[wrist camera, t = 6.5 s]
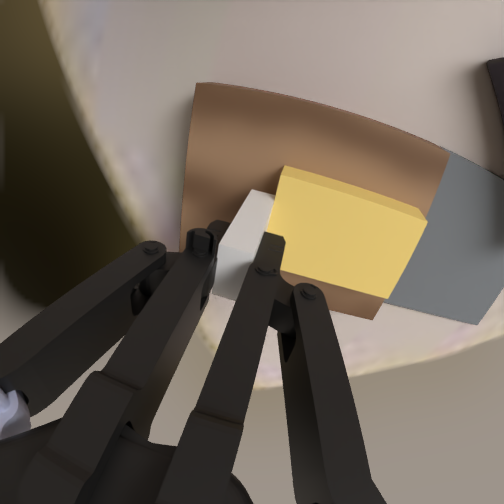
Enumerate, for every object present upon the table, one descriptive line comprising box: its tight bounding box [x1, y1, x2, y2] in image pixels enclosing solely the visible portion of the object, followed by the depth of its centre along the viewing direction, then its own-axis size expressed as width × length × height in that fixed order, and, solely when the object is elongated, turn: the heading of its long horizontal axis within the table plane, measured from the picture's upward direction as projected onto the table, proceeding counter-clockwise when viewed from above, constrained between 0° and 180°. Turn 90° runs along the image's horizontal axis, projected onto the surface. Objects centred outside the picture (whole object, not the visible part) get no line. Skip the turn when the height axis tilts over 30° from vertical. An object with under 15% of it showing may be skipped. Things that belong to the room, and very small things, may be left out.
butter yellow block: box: [267, 166, 428, 299], centre depth 18 cm, size 6×9×2 cm, turn 79°
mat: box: [383, 147, 504, 325], centre depth 20 cm, size 14×13×1 cm
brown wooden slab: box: [179, 82, 450, 320], centre depth 20 cm, size 14×16×3 cm
